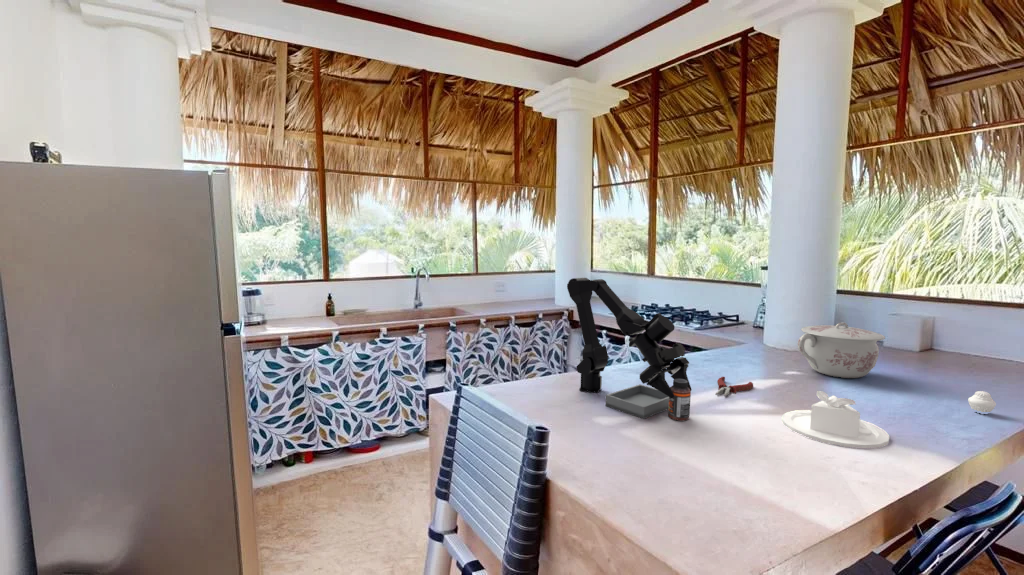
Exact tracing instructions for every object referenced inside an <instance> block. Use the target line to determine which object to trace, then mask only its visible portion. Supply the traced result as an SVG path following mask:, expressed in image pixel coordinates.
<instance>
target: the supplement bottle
mask: <svg viewBox="0 0 1024 575" xmlns="http://www.w3.org/2000/svg"><path fill="white" fill-rule="evenodd" d="M672 381H673V382H672V385H671V386H669V387H670V388H671V390H672V392H673V394H674V396H675V397H674V398H670V397H669V407H668V409H667V410H668V411H667V412H668V414H667V415H668V418H669V419H672V420H673V419H674V420H673V421H680V422H684V421H685V422H686V421H688V420H689V419H690V410H691V395H692V390H691V391H690V389H689V388H688V387H687V386H688V381H687V380H684V379H672Z"/></svg>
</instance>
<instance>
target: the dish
mask: <svg viewBox="0 0 1024 575" xmlns="http://www.w3.org/2000/svg"><path fill="white" fill-rule="evenodd" d="M816 396H817V398H818V399H819V400H820V401H818V402H815V403H813V404H811V409H798V410H791V411H787V412H784V413H783V414H782V416H781V422H782V425H783V424H784V425H785V426H784V425H783V426H784V427H786V426H787V427H788V428H789V429H788V428H787V427H786V428H787V429H788V430H790V429H791V430H792V431H791V430H790V431H791V432H793V431H795V432H797V433H799V434H798V435H800V434H802V435H804V436H806V437H809V438H808V439H810V438H812V439H811V440H813V439H815V440H814V441H816V440H818V441H817V442H820V441H821V442H820V443H823V442H824V443H823V444H827V443H830V444H829V445H832V444H835V445H834V446H837V445H840V446H839V447H842V446H844V447H843V448H851V447H852V448H853V449H864V450H866V449H880V448H883V447H885V446H888V445H889V442H890V437H891V436H890V435H889V433H887V431H886V430H885V429H884V428H881V427H879V426H878V425H876V424H874V423H872V422H868V421H865V420H863V419H861V412H859V411H858V410H856V409H855V408H853V407H852V405H853V406H854V405H857V404H856V401H855V400H854V399H851V398H844V397H841V398H839V397H837V396H836V395H834V394H833V395H831V396H829V395H828V394H827V393H826V392H825V391H822V390H821V391H820V390H817V391H816ZM795 432H794V433H795ZM797 433H796V434H797ZM802 435H801V436H802ZM804 436H803V437H804ZM806 437H805V438H806ZM887 444H888V445H887ZM884 445H885V446H884ZM882 446H883V447H882ZM879 447H880V448H879ZM852 448H851V449H852Z"/></svg>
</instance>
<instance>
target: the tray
mask: <svg viewBox="0 0 1024 575" xmlns="http://www.w3.org/2000/svg"><path fill="white" fill-rule="evenodd" d="M605 407H608V408H610V409H613V408H614V410H616V409H617V411H619V410H620V411H619V412H622V411H623V413H625V414H628V415H631V416H634V417H638V418H639V417H640V419H642V418H643V419H646V417H647V418H649V417H652V416H654V414H655V415H656V413H657V414H659V412H660V413H662V412H665V411H667V410H668V407H669V396H667V395H665V394H664V393H662V392H661V391H659V390H657V389H655V388H653V387H652V386H649V385H645V384H641V383H640V384H636V385H633V386H630V387H627V388H623V389H620V390H618V391H614V392H611V393H608V394H605ZM666 409H667V410H666ZM664 410H665V411H664ZM661 411H662V412H661ZM651 415H652V416H651Z"/></svg>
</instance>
